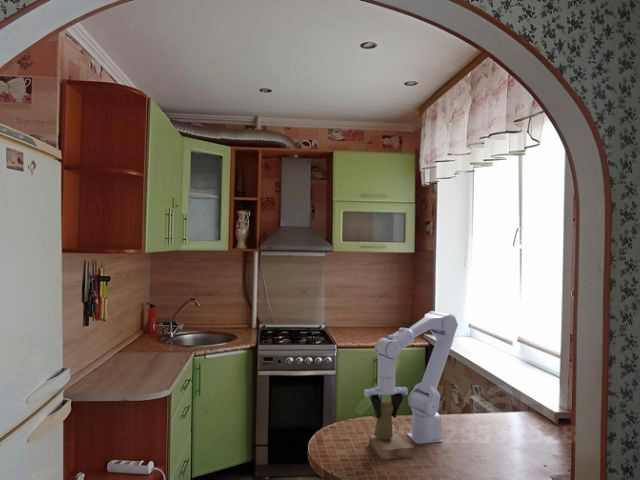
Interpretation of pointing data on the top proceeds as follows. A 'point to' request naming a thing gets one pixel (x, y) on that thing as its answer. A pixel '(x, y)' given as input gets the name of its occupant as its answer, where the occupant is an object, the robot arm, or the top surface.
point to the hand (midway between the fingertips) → (385, 417)
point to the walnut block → (391, 447)
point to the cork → (384, 421)
